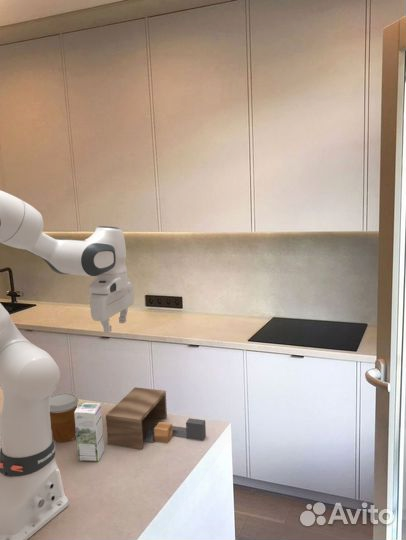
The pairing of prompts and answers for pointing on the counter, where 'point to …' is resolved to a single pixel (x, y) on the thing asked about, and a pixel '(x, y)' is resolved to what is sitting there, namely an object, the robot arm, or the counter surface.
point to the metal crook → (184, 430)
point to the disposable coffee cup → (63, 416)
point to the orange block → (163, 432)
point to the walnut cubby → (134, 416)
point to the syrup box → (89, 431)
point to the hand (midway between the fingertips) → (115, 327)
